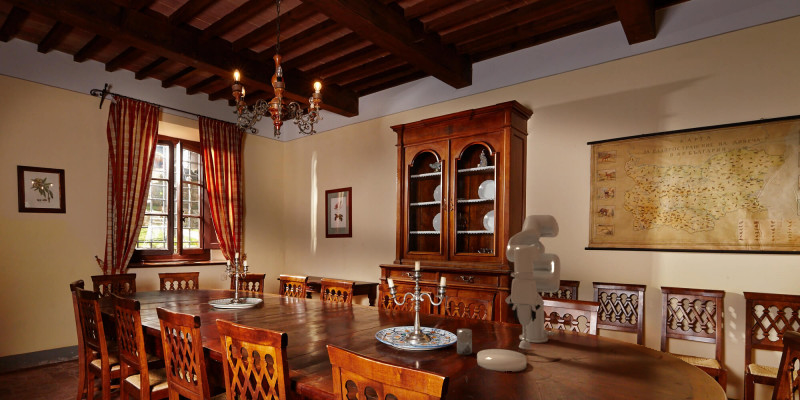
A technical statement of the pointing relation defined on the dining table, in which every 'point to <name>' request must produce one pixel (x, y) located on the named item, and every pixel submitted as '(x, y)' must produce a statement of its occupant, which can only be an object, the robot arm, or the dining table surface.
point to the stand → (501, 360)
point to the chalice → (524, 322)
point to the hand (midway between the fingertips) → (524, 319)
